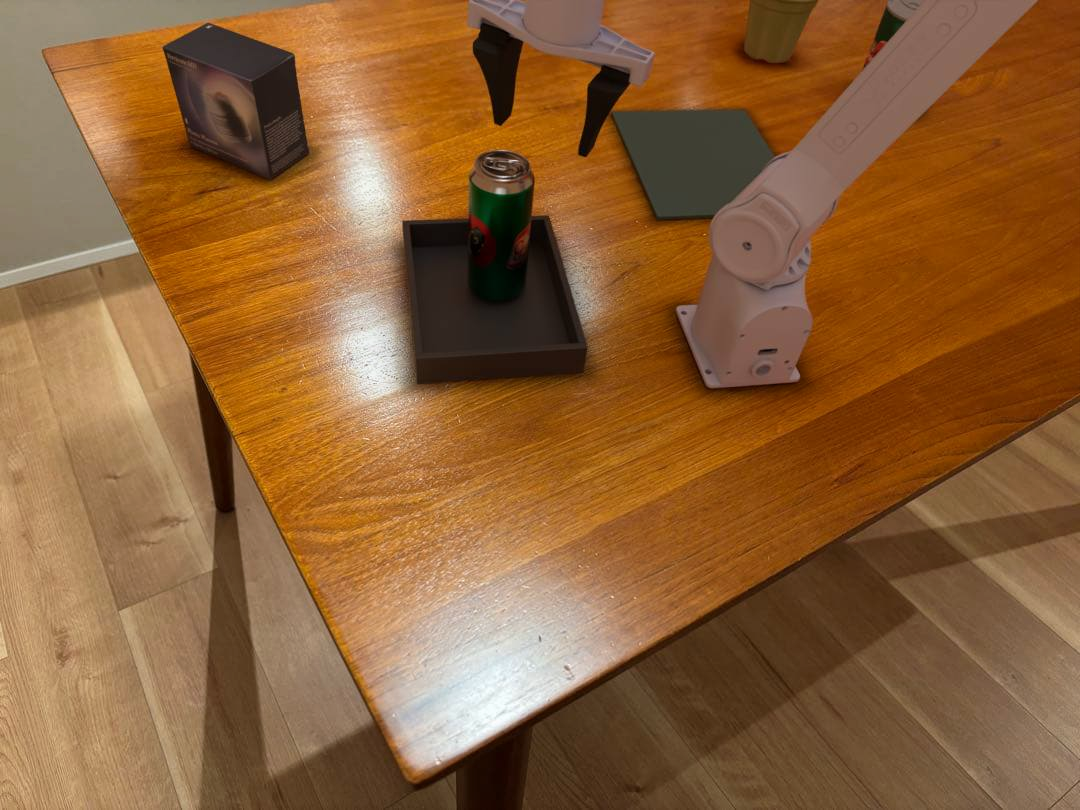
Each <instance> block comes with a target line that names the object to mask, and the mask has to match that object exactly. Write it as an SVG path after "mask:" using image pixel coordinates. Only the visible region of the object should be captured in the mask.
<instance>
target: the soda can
mask: <svg viewBox="0 0 1080 810" xmlns="http://www.w3.org/2000/svg"><path fill="white" fill-rule="evenodd" d="M535 181H536V179H535V175H534V173H533V171H532V166H531V162H530V160H529V159H528V158H527V157H526V156H524V155H523V154H521V153H519V152H516V151H513V150H508V149H492V150H487V151H484V152H483V153H481V154H479V155H478V156H477V157H476V158H475V159H474V162H473V167H472V168H471V169H470V171H469V173H468V204H467V205H468V206H467V207H468V208H467V209H468V211H467V212H468V215H467V216H468V217H467V218H468V275H467V282H468V285H469V288H470V289H471V290H472V291H473V292H474V293H475V294H476V295H477V296H479V297H480V298H482V299H484V300H487V301H491V302H505V301H509V300H511V299H513V298H515V297H517V296H518V295H519V294H521V293H522V292H523V290H524V289H525V286H526V279H527V267H528V255H529V243H530V231H531V219H532V216H533V206H534V195H535V183H536V182H535Z"/></svg>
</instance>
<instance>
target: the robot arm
mask: <svg viewBox="0 0 1080 810" xmlns="http://www.w3.org/2000/svg"><path fill="white" fill-rule="evenodd" d="M1038 1H1039V0H924V1H923V3H922V4H921V5H920V6H919V7H918V8H917V9H916V11H915V12H914V13H913V14H912V15H911V16H910V17H909V18H908V20H907V21H906V22H905V23H904V24H903V25H902V26H901V27H900V29H899V30H898V31H897V32H896V33H895V34H894V35H893V37H892V38H891V39H890V40H889V41H888V42H887V43H886V44H885V46H884V47H883V48H882V49H881V50H880V51H879V52H878V54H877V55H876V56H875V57H874V58H873V59H872V60H871V61H870V63H869V64H868V65H867V66H866V67H865V68H864V69H863V68H862V69H863V71H862V70H861V71H862V72H861V71H860V72H859V73H858V75H857V76H856V77H855V78H854V79H853V81H851V83H850V84H849V85H848V86H847V88H846V89H845V90H844V91H843V92H842V93H841V94H840V95H839V96H838V97H837V99H836V100H835V101H834V102H833V103H832V104H831V105H830V106H829V108H828V109H827V110H826V111H825V113H823V114H822V116H821V117H820V118H819V119H818V120H817V121H816V122H815V124H814V125H813V126H812V127H811V128H810V129H809V131H808V132H807V133H806V134H805V135H804V136H803V137H802V138H801V140H800V141H799V142H798V143H797V144H796V145H795V146H794V147H793V148H792V150H789V151H786V152H782V153H780V154H778V155H776V156H775V157H774V158H773V159H772V160H771V161H769V162H768V163H767V165H766V166H765V167H764V168H763V169H762V171H761V173H760V174H759V175H758V176H757V177H756V178H755V179H754V180H753V181H752V182H751V183H750V184H749V185H748V186H747V187H746V188H745V189H744V190H743V191H742V192H741V193H740V194H739V195H738V196H737V197H736V198H735V199H734V200H733V201H732V202H731V203H729V204H726V205H725V206H724V207H723V208H721V209H720V210H719V211H718V212H717V213H716V215H715V216H714V218H711V222H710V225H709V229H708V243H709V248H710V250H711V257H710V260H709V263H708V267H707V270H706V274H705V276H704V277H705V278H704V280H703V284H702V287H701V291H700V294H699V297H698V301H697V304H684V305H683V304H682V305H678V306H676V307H675V314H676V316H677V319H678V321H679V324H680V326H681V328H682V331H683V333H684V336H685V338H686V341H687V343H688V346H689V348H690V350H691V353H692V355H693V358H694V361H695V363H696V365H697V367H698V370H699V373H700V375H701V378H702V380H703V382H704V385H705V386H706V387H707V388H708V389H722V388H735V387H748V386H763V385H774V384H789V383H797V382H799V380H800V378H801V374H800V372H799V371H798V368H797V367H796V365H797V363H798V361H799V359H800V356H801V355H802V352H803V351H804V348H805V345H806V344H807V341H808V338H809V337H810V334H811V332H812V329H813V323H814V321H813V316H812V313H811V310H810V308H809V306H808V303H807V302H808V301H807V298H806V278H807V273H808V269H809V268H810V266H811V261H812V258H811V255H812V243H811V239H812V237H813V236H814V235H815V233H816V232H817V231H818V230H819V229H820V228H821V227H822V226H823V225H825V223H826V222H827V221H828V220H829V219H831V218H832V216H833V215H834V213H835V212H836V209H837V207H838V205H839V204H838V203H839V200H840V196H841V195H842V194H843V193H844V192H845V191H846V190H847V189H848V188H849V187H850V186H851V185H852V184H853V183H854V182H855V181H856V180H857V179H858V178H859V177H860V176H861V175H862V174H863V173H864V172H865V171H866V170H867V169H868V168H869V167H870V166H871V165H872V164H874V162H876V160H877V159H878V158H880V157H881V156H882V155H883V154H884V152H886V151H887V150H888V149H889V148H890V147H891V146H892V145H893V144H894V143H895V142H896V141H897V140H898V139H899V138H900V137H901V136H902V135H903V134H904V133H905V132H906V131H907V130H908V129H909V128H910V127H911V126H912V125H913V124H914V123H915V122H916V121H917V120H918V119H919V118H920V117H921V116H922V115H923V114H924V113H926V111H928V109H929V108H930V107H931V106H932V105H933V104H935V102H936V101H937V100H938V99H939V98H940V97H942V95H944V94H945V92H947V91H948V90H949V89H950V88H951V87H952V85H954V84H955V83H956V82H957V81H958V79H960V78H961V77H962V76H963V75H964V74H965V73H966V72H967V71H968V70H969V69H970V68H971V67H972V66H973V65H974V64H975V63H976V62H977V61H978V60H979V59H980V58H981V57H982V56H983V55H984V54H986V52H987V51H988V50H989V49H990V48H991V47H992V46H993V45H994V44H996V43H997V41H999V39H1000V38H1002V36H1003V35H1004V34H1005V33H1006V32H1008V31H1009V30H1010V29H1011V28H1012V27H1013V26H1014V24H1016V23H1017V22H1018V21H1019V19H1021V18H1022V17H1023V16H1024V15H1025V14H1026V13H1027V12H1028V11H1029V10H1030V9H1031V8H1032V7H1034V5H1035V4H1036V3H1037V2H1038ZM467 2H468V4H467V17H466V19H467V20H466V26H467V27H468V28H469V27H470V28H472V29H475V30H479V32H478V36H477V38H475V39H474V40H473V41H472V54H473V56H474V57H475V59H476V61H477V63H478V65H479V67H480V70H481V72H482V75H483V77H484V80H485V84H486V86H487V90H488V94H489V100H490V105H491V110H492V118H493V124H494V125H496V126H499V127H502V126H503V124H505V122H507V120H508V119H509V118H510V117H511V116H512V112H513V108H514V101H515V94H516V93H515V92H516V82H517V81H516V80H517V74H518V68H519V65H520V64H519V63H520V59H521V53H522V49H523V45H524V44H527V46H528V47H531V48H532V49H535V50H536V51H539V52H541V53H544V54H547V55H550V56H556V57H559V58H567V59H572V60H573V59H574V60H576V61H578V62H582V63H585V64H588V65H590V66H593V67H595V68H598V69H600V70H599V71H598V73H596V75H594V77H593V78H592V79H591V80H590V82H589V83H588V84H587V88H586V109H585V118H584V124H583V128H582V132H581V136H580V139H579V143H578V151H577V156H580V157H583V158H587V157H588V156H589V154H590V153H591V152H592V150H593V149H594V148H595V145H596V142H597V139H598V137H599V134H600V133H601V130H602V128H603V125H604V124H605V122H606V121H607V118H608V116H609V115H610V114H611V112H612V111H613V108H614V107H615V105H616V104H617V102H618V101H619V99H621V97H622V95H623V94H624V93H625V91H626V90H627V89H628V87H629V86H630V85H633V86H636V87H640V88H641V87H643V85H644V84H645V83H646V81H647V80H648V78H649V77H650V74H651V71H652V67H653V63H654V58H655V54H656V52H655V51H653V50H650V49H647V48H645V47H643V46H640V45H639V44H636V43H635V42H633V41H631V40H629V39H627V38H626V37H624V36H622V35H620V34H618V33H617V32H615V31H614V30H612V29H610V28H608V27H607V26H605V25H604V24H601V22H602V18H603V13H604V8H605V4H606V3H605V2H606V0H525V1H523V0H469V1H467Z"/></svg>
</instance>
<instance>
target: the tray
mask: <svg viewBox="0 0 1080 810" xmlns="http://www.w3.org/2000/svg"><path fill="white" fill-rule="evenodd" d="M401 223H402V225H401V226H402V242H403V254H404V255H403V256H404V266H405V275H406V286H407V287H406V288H407V296H408V306H409V315H410V326H411V327H410V328H411V335H412V337H411V338H412V348H413V359H414V368H415V379H416V384H417V385H424V384H437V383H439V384H440V383H453V382H454V383H455V382H466V381H467V382H468V381H482V380H494V379H495V380H497V379H508V378H510V379H511V378H523V377H538V376H539V377H540V376H551V375H552V376H553V375H554V376H555V375H567V374H581V373H584V372H585V365H586V360H587V354H588V348H589V347H588V343H587V341H586V337H585V334H584V330H583V325H582V323H581V320H580V316H579V313H578V309H577V306H576V302H575V299H574V296H573V292H572V288H571V286H570V283H569V278H568V276H567V272H566V269H565V265H564V262H563V259H562V255H561V251H560V248H559V245H558V241H557V239H556V234H555V231H554V228H553V224H552V221H551V218H550V215H548V214H547V215H532V219H531V231H530V243H529V255H528V267H527V279H526V286H525V289H524V290H523V292H522V293H521V294H519V295H518V296H517V297H515V298H513V299H511V300H509V301H505V302H491V301H487V300H484V299H482V298H480V297H479V296H477V295H476V294H475V293H474V292H473V291H472V290H471V289H470V288H469V285H468V282H467V275H468V217H466V218H465V217H463V218H437V219H410V220H408V219H407V220H402V221H401Z"/></svg>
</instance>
